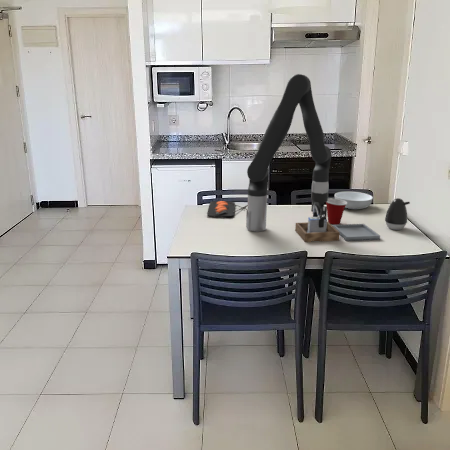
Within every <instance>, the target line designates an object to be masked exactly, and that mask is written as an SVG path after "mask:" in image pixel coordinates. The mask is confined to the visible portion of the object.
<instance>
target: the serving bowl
mask: <svg viewBox="0 0 450 450" xmlns="http://www.w3.org/2000/svg"><path fill="white" fill-rule="evenodd" d="M334 199H340V200H344V201H346V202H347V204H346V206H345V208H344V209H347V208H348V210H361V209H365V208H367V207H369V206H370V205H371V204H372V202H373V199H374V197H373V195H370V194H369V193H366V192H365V193H364V192H360V191H338V192H336V193H334Z"/></svg>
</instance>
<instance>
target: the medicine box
mask: <svg viewBox="0 0 450 450" xmlns="http://www.w3.org/2000/svg"><path fill="white" fill-rule="evenodd" d="M307 219H308V220H307V222H308V231H306V232H307V233H316V232H327V231H326V227H327V222H328V218H326V220H324V227H323V228H319V216H318V217H313V216H308V218H307Z"/></svg>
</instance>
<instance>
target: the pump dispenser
mask: <svg viewBox="0 0 450 450" xmlns="http://www.w3.org/2000/svg"><path fill="white" fill-rule="evenodd" d="M410 204H411V202H410V201H404V200H403V199H402V198H397V197H396V198H394V199H393V200H392V201H391V202H390V205H389V206H388V208H387V210H386V214H385V217H384V221H385V225H386V227H387V228H388V229H390V230H393V231H394V230H395V231H400V230H403V229H404V228H405V227H406V225H407V224H408V211H407V207H406V205H410Z"/></svg>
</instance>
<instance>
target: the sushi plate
mask: <svg viewBox="0 0 450 450" xmlns="http://www.w3.org/2000/svg"><path fill="white" fill-rule="evenodd" d="M236 207H238V208H239V209H237V210H236ZM247 208H248V204H247V205H245V206H243V207H242V206H240V205H237V204H236V202H235V201H228V200H227V201H224V200H218V201H217V200H216V201H210V203H209V205H208V208H207V212H206V216H208V217H214V218H215V217H219V218H225V217H226V218H228V217H234V216H235V213H237V212H239V211H240V210H242V209H243V210H246V211H247Z"/></svg>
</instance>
